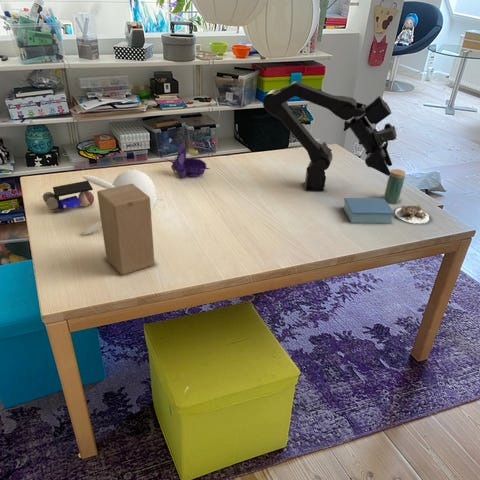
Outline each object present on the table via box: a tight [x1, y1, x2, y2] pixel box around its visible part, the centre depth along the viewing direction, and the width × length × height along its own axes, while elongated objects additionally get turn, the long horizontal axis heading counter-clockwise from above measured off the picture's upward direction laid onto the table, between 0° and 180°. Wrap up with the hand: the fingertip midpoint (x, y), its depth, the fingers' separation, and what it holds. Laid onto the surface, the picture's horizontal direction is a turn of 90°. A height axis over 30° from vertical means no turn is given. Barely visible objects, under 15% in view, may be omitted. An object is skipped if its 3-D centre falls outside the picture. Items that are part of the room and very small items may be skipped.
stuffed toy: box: [81, 169, 163, 236], centre depth 148 cm, size 19×14×25 cm
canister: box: [383, 168, 406, 204], centre depth 174 cm, size 5×5×10 cm
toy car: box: [42, 180, 95, 213], centre depth 159 cm, size 7×8×15 cm
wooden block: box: [97, 184, 156, 276], centre depth 130 cm, size 10×10×20 cm
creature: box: [163, 139, 211, 179], centre depth 183 cm, size 9×18×12 cm, turn 108°
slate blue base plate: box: [343, 197, 395, 224], centre depth 165 cm, size 14×11×4 cm
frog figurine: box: [394, 204, 430, 225], centre depth 166 cm, size 12×12×4 cm
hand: (390, 170), depth 171 cm, fingers open, 9 cm apart
